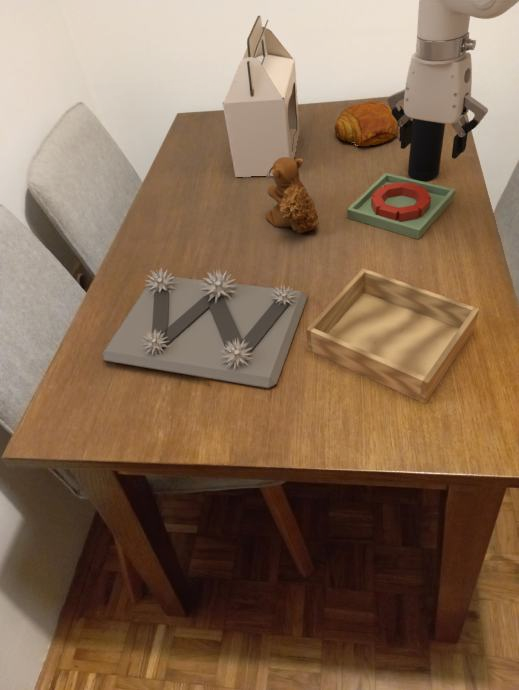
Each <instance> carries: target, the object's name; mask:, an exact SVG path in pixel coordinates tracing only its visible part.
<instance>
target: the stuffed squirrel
mask: <svg viewBox="0 0 519 690" xmlns="http://www.w3.org/2000/svg"><path fill="white" fill-rule="evenodd" d="M303 162H304V160H303V159H302V158H300V157H299V158H296V159H292V158H288V157H282V158H279V159H277V160H276V161H275V162H274V164H273V167H272V168H271V169H270V170H269V171H270V172H268V173H269V176H268V173H267V175H266V177H265V178H268V179H270V177H271V176H270V173H271V174H272V175H273V176H272V178H273V180H274V183H275V185H269V187H268V188H267V194H268V196H269V197H270V198H272V199H274V201H275V202H277V204H276V205H274V206H273V207H272V208H271V210H267V212H265V213H264V216H265V219H266V220H267V221H268V222H270V224H272V225H273V226H274V227H277V228H291V229H292V230H293V232H295V233H297V234H303V233H308V232H311V231H314V230H315V229H317V226H318V225H319V224H320V223H319V215H318V211H317V209H316V208H315V207H316V206H315V201H314V199H313V197H312V196H311V195H309V193H308V192H309V191H308V189H307V188H306V187H305V185H304V184H303V182H302V181H301V179H300V173H299V172H300V171H299V169H300V168H301V166H302V164H303Z"/></svg>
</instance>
